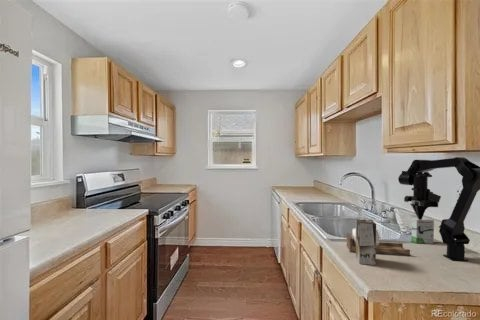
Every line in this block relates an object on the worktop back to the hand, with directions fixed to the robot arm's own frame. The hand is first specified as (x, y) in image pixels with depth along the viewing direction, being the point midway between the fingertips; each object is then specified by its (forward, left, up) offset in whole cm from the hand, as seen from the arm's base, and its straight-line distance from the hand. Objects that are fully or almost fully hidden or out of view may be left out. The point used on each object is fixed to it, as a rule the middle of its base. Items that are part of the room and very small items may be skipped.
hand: (420, 219), depth 145 cm
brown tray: (-6, +23, -13) cm, 27 cm away
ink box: (+9, -6, -13) cm, 17 cm away
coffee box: (-21, +33, -13) cm, 41 cm away
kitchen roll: (-5, +27, -12) cm, 30 cm away
